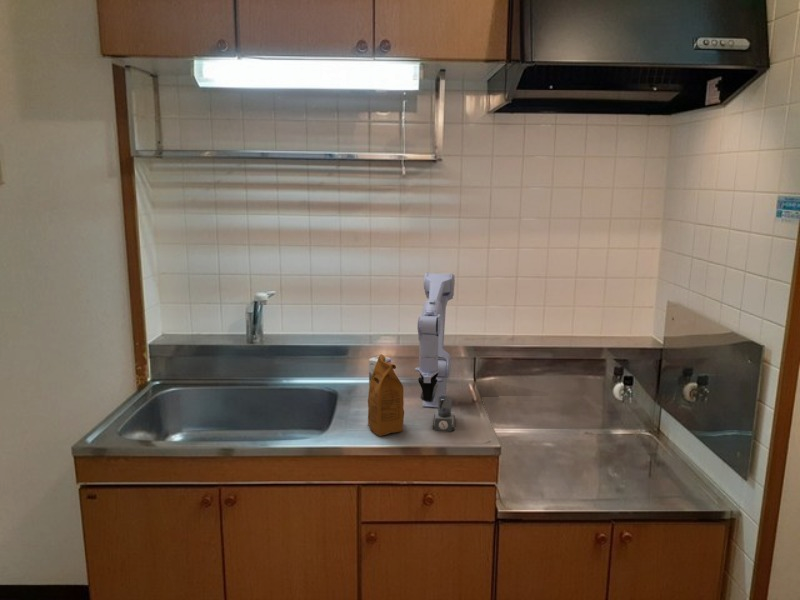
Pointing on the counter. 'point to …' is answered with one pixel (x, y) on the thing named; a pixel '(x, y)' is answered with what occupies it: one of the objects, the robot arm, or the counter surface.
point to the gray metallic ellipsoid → (444, 406)
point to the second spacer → (432, 395)
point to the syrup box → (373, 363)
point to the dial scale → (444, 423)
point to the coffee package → (385, 399)
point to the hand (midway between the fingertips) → (428, 397)
